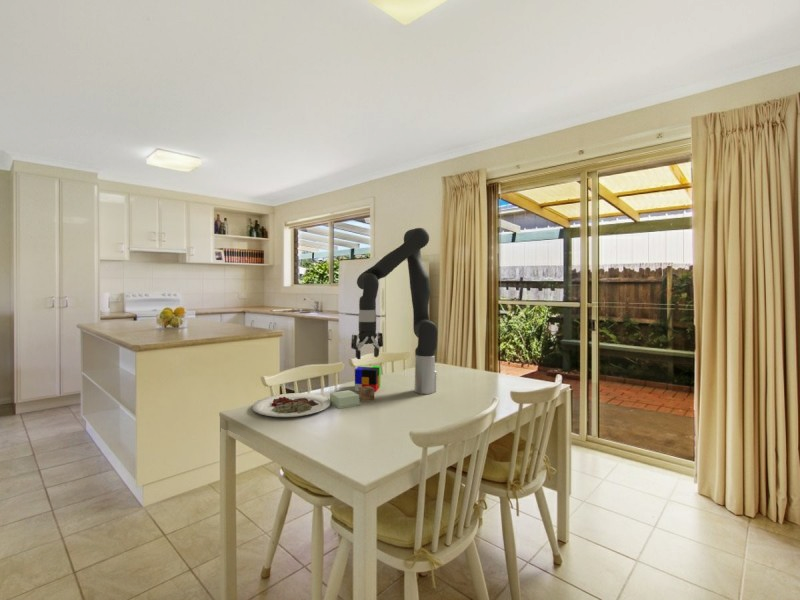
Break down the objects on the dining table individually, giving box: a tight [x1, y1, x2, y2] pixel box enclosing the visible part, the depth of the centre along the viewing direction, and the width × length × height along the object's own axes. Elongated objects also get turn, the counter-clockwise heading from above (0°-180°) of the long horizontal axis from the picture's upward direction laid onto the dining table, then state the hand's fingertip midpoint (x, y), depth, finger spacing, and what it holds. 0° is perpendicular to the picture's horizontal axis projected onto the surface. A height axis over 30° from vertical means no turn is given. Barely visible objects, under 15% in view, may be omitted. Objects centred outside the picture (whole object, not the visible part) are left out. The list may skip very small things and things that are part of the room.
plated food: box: [252, 392, 331, 418], centre depth 163 cm, size 30×30×3 cm
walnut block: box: [358, 386, 376, 403], centre depth 176 cm, size 5×5×5 cm
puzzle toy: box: [354, 364, 382, 393], centre depth 193 cm, size 10×10×10 cm
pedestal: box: [329, 389, 362, 410], centre depth 169 cm, size 10×10×4 cm
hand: (367, 357), depth 175 cm, fingers open, 8 cm apart
